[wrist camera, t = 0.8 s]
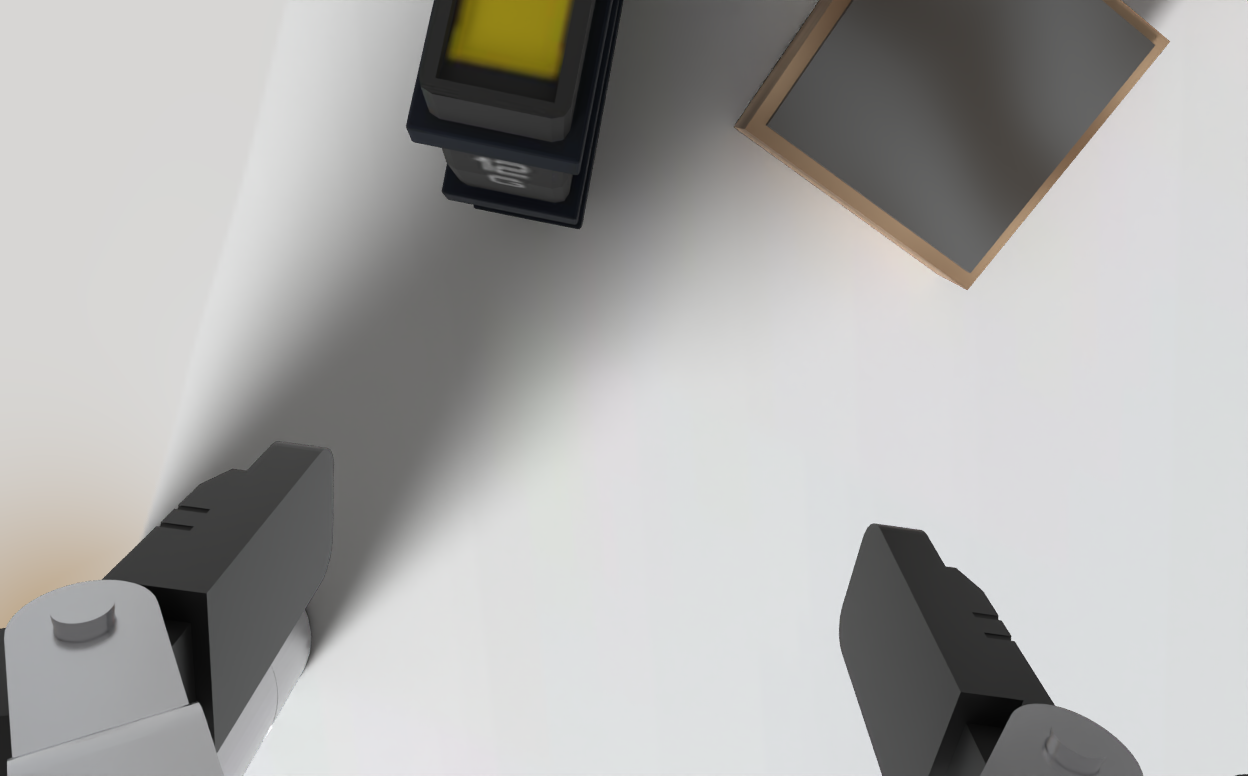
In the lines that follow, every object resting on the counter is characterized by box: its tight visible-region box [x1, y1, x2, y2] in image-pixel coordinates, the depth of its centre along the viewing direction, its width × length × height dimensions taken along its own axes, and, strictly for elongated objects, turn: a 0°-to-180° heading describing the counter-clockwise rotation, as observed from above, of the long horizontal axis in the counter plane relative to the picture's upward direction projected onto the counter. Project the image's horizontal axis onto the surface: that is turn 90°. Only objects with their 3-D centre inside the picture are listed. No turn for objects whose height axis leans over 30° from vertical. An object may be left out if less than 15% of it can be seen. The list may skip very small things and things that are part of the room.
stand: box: [734, 0, 1170, 290], centre depth 29 cm, size 10×10×3 cm
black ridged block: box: [406, 0, 623, 229], centre depth 25 cm, size 4×13×15 cm, turn 169°
